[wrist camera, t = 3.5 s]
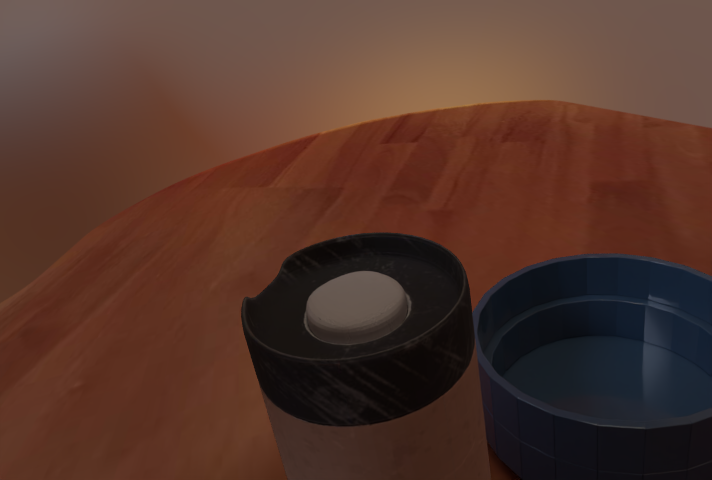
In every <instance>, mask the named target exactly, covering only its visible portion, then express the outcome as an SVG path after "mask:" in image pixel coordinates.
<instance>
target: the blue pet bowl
mask: <svg viewBox="0 0 712 480" xmlns="http://www.w3.org/2000/svg"><path fill="white" fill-rule="evenodd" d="M472 315H473V324H474V333H475V342H476V351H477V360H478V368H479V377H480V386H481V395H482V404H483V412H484V421H485V430H486V439H487V441H488V443H489V444H490V446H491V447H492V449H493V451H494V452H495V454H496V455H497V457H498V458H499V459H500V460H501V461H502V462H504V463H505V464H506V465H507V466H508V467H509V468H510V469H511V470H512V471H513V472H514V473H516V474H517V475H518V476H519V477H520V478H521V479H523V480H712V276H710V275H707V274H705V273H703V272H700V271H698V270H695V269H693V268H690V267H688V266H685V265H681V264H677V263H673V262H669V261H665V260H661V259H657V258H652V257H645V256H636V255H627V254H581V255H574V256H567V257H560V258H555V259H551V260H547V261H544V262H540V263H537V264H534V265H530V266H527V267H525V268H523V269H521V270H519V271H517V272H515V273H513V274H511V275H509V276H507V277H505V278H503V279H502V280H500V281H499V282H498V283H497V284H496V285H494V286H493V287H492V288H491V289H490V290H488V291H487V292H486V293H485V294H484V295H483V297H482V298H481V300H480V301H479V303H478V305H477V306H476V308H475V309H474V311H473V313H472Z"/></svg>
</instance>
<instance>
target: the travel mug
mask: <svg viewBox="0 0 712 480" xmlns="http://www.w3.org/2000/svg"><path fill="white" fill-rule="evenodd" d="M241 318H242V325H243V331H244V335H245V338H246V341H247V345H248V348H249V352H250V355H251V358H252V362H253V365H254V368H255V372H256V375H257V378H258V381H259V385H260V388H261V392H262V395H263V398H264V402H265V405H266V408H267V412H268V415H269V419H270V422H271V425H272V429H273V432H274V435H275V439H276V442H277V445H278V449H279V452H280V456H281V459H282V462H283V466H284V469H285V472H286V476H287V479H288V480H491V474H490V465H489V457H488V448H487V439H486V430H485V421H484V412H483V404H482V395H481V386H480V377H479V368H478V360H477V351H476V342H475V333H474V324H473V315H472V306H471V297H470V289H469V284H468V279H467V275H466V272H465V269H464V267H463V265H462V264H461V262H460V261H459V260H458V258H457V257H456V256H455V255H454V254H453V253H452V252H451V251H449V250H448V249H446V248H445V247H443V246H442V245H440V244H438V243H435V242H433V241H431V240H428V239H425V238H422V237H417V236H413V235H407V234H400V233H363V234H355V235H348V236H343V237H338V238H334V239H330V240H326V241H323V242H320V243H317V244H314V245H311V246H309V247H306V248H304V249H301V250H299V251H297V252H295V253H293V254H292V255H290V256H289V257H287V258H286V260H285V261H284V262H283V264H282V266H281V269H280V271H279V273H278V275H277V277H276V278H275V279H274V280H273V281H272V282H271V283H270V284H269V285H268V286H267V288H265V289H264V290H263V291H262V292H261V293H260V294H259V295H257V296H256V297H254V298H249V297H245V298H244V300H243V303H242V309H241Z"/></svg>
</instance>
